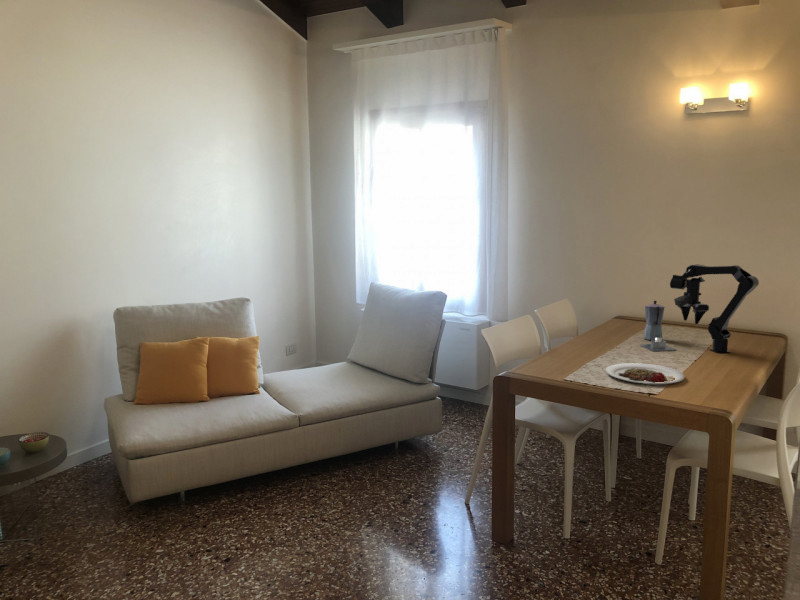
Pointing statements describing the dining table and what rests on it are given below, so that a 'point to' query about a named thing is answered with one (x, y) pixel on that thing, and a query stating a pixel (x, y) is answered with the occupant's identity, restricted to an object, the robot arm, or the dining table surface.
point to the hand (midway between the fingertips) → (690, 322)
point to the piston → (658, 348)
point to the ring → (658, 344)
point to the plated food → (644, 373)
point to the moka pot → (653, 321)
